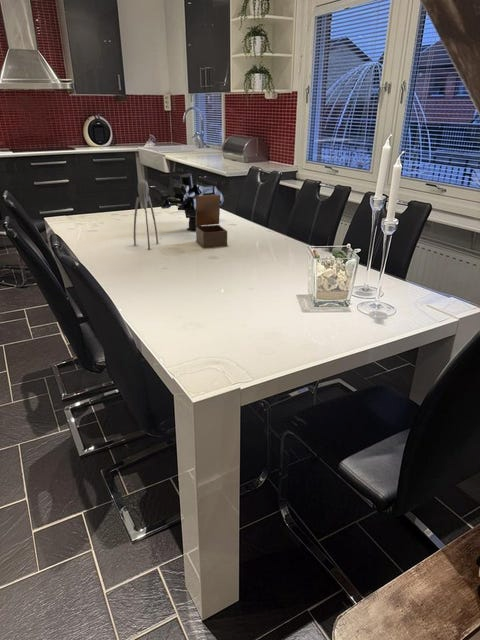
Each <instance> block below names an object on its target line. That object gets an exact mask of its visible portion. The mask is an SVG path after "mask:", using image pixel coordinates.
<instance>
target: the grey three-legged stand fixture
mask: <svg viewBox="0 0 480 640" xmlns="http://www.w3.org/2000/svg"><path fill="white" fill-rule="evenodd" d="M149 190H150V189H149V184H148V181H147V180H146V179H145V180H144V179H141V180H139V181H138V183H137V193H138V196H136V200H135V207H134V216H133V217H134V218H133V245H134V246H137V240H136V239H137V238H136V237H137V234H136V233H137V216H138V215H137V214H138V207H139V203H141V205H142V207H143V210H144V212H145V224H146V235H147V236H146V237H147V249H148V251H150V250H151V244H150V243H151V241H150V231H149V222H148V212H147V204H148V205H149V208H150V211H151V216H152V220H153V226H154V232H155V240H156V244H157V245H159V236H158V229H157V222H156V216H155V211H154V207H153V204H152V200H151V196H150V195H149Z"/></svg>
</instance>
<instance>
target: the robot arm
mask: <svg viewBox="0 0 480 640" xmlns="http://www.w3.org/2000/svg"><path fill="white" fill-rule="evenodd" d="M179 177H180V183H179V182H175V183H174V185H173V187H172V190H173V192H174V194H173V197H171V195H170V194H166V193H163V194H162V195H160V200H161V201H160V202H161V206H160V207H161V210H164V209H170V208H171V207H172V205H173V204H175V206H176V207H177V211H184V214H185V218H186V219H188V228H186V230H189V231H193V232H196V196H204V195H220V206H223V203H224V202H225V197H224V196H223V193H222V192H221V191H220V190H219V189H218V188H217V186H216V185H211V184H209V185H200V184H198V183H197V184H195V183H193V175H192V173H184V174H180V175H179ZM199 226H202V225H199Z"/></svg>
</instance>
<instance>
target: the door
mask: <svg viewBox="0 0 480 640" xmlns="http://www.w3.org/2000/svg"><path fill="white" fill-rule="evenodd" d="M195 199H196V226H199V225H201V226H210V225H220V214H221V205H220V195H207V194H204V195H202V196H195Z"/></svg>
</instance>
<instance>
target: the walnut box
mask: <svg viewBox="0 0 480 640" xmlns="http://www.w3.org/2000/svg"><path fill="white" fill-rule="evenodd" d="M195 239H196V240H195V241H196V242H197V244H198V245H199V246H200V247H202V248H203V249H211V248H212V249H213V248H224V247H228V231H227V229H225V228H224V227H223V226H221V225H220V224H215V225H201V226H196V231H195Z"/></svg>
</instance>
